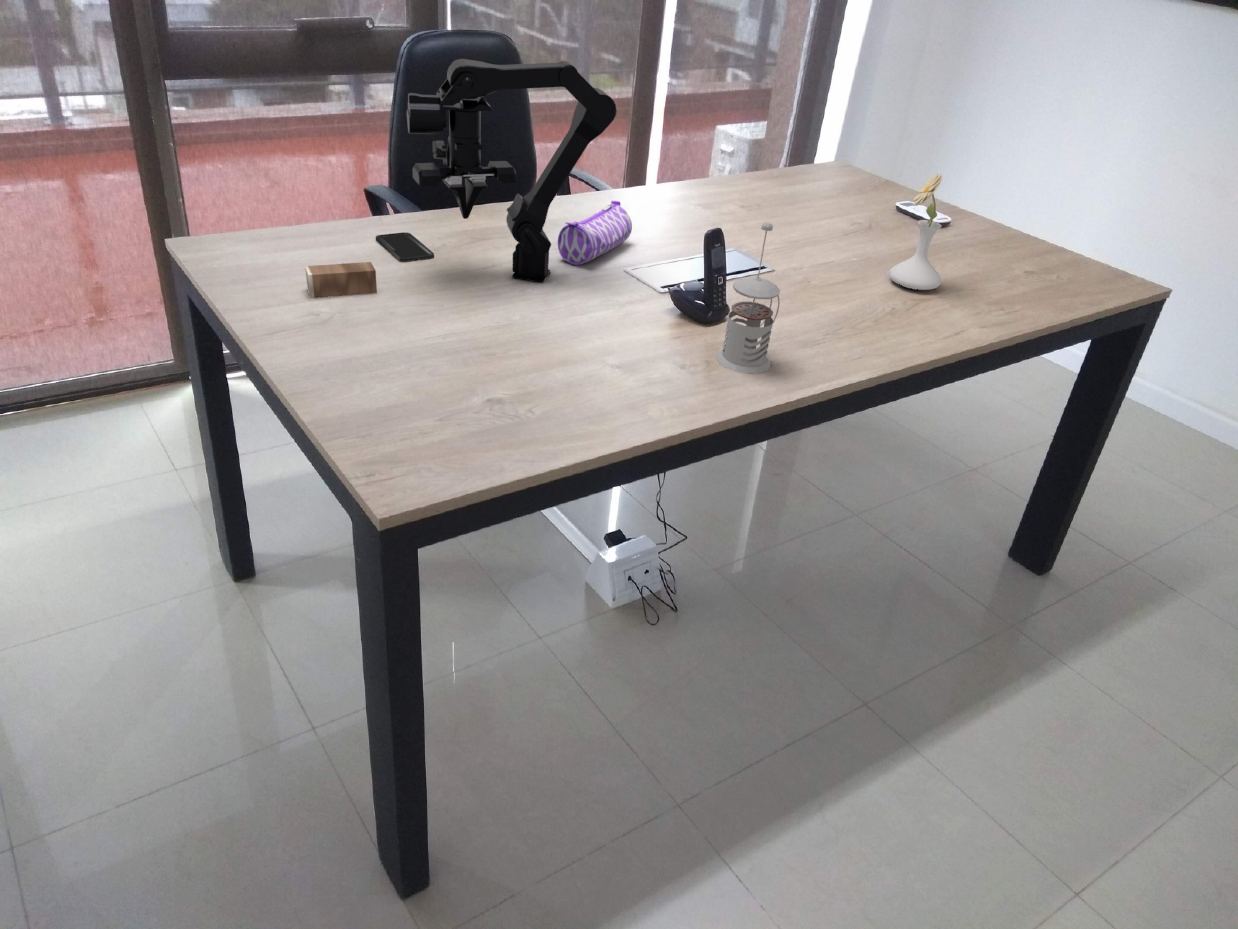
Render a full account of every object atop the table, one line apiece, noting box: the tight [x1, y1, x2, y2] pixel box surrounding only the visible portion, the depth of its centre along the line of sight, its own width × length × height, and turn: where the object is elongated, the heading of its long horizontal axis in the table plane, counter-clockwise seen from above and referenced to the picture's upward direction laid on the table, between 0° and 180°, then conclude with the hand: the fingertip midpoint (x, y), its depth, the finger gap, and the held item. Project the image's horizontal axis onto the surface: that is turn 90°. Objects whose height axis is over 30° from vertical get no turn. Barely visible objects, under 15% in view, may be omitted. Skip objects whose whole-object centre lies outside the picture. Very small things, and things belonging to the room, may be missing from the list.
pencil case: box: [557, 200, 633, 266], centre depth 199 cm, size 22×9×10 cm, turn 156°
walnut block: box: [304, 261, 378, 299], centre depth 170 cm, size 4×4×12 cm
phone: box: [375, 231, 435, 263], centre depth 193 cm, size 8×1×15 cm
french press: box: [715, 221, 781, 374], centre depth 155 cm, size 10×12×25 cm
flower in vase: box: [888, 172, 943, 291], centre depth 194 cm, size 13×11×25 cm
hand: (465, 217), depth 176 cm, fingers closed
